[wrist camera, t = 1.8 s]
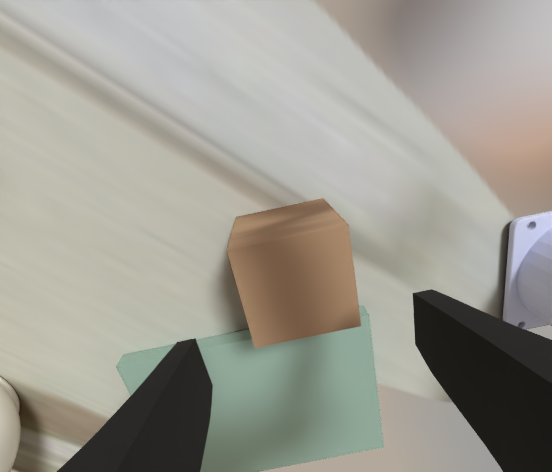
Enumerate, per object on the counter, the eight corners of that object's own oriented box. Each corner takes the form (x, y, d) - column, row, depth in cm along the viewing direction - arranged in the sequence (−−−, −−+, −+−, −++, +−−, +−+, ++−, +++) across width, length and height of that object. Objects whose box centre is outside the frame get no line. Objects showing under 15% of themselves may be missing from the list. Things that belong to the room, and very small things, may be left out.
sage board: (363, 305, 19) (368, 315, 18) (378, 434, 23) (384, 447, 22) (123, 355, 19) (116, 366, 18) (180, 472, 23) (177, 487, 22)
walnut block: (322, 198, 16) (348, 224, 12) (335, 275, 18) (361, 326, 13) (236, 216, 16) (226, 250, 12) (256, 292, 18) (254, 347, 13)
